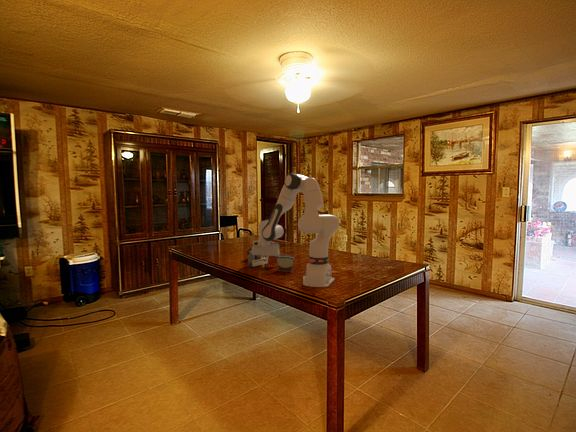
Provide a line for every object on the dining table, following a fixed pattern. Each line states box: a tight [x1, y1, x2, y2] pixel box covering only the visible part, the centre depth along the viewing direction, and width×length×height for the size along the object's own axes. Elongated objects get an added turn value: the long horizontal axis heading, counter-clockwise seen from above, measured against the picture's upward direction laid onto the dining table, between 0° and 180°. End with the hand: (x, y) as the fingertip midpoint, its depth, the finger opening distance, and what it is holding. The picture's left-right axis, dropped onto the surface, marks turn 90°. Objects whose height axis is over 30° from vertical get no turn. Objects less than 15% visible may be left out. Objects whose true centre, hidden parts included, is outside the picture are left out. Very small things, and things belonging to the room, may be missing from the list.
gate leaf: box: [252, 257, 269, 268], centre depth 219 cm, size 14×1×4 cm, turn 136°
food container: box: [275, 254, 295, 273], centre depth 206 cm, size 12×6×10 cm, turn 74°
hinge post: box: [247, 254, 253, 269], centre depth 213 cm, size 3×3×10 cm
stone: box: [246, 243, 262, 260], centre depth 241 cm, size 15×10×15 cm
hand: (265, 261), depth 220 cm, fingers closed
